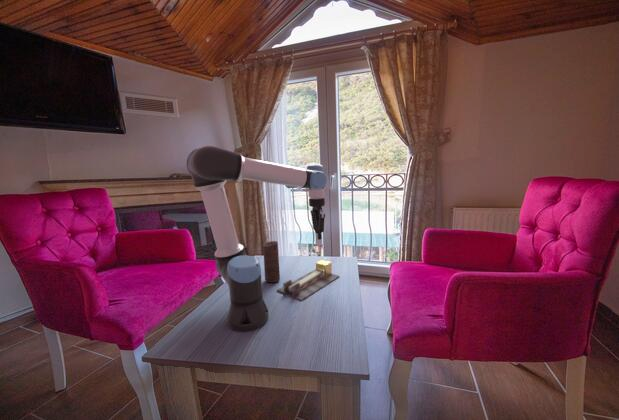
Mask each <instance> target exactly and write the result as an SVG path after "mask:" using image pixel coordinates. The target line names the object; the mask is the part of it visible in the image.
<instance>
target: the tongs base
mask: <svg viewBox="0 0 619 420" xmlns="http://www.w3.org/2000/svg"><path fill="white" fill-rule="evenodd" d="M315 271H316V268H315V269H314V270H312V271H310V272H307V274H304V275H302V276H301V277H299V278H296V279H295V280H291V279H289V280H287V281H285V282H283V286H282V287H280V288H278V289H276V291H277V292H278V293H281V294H284V295H286V296H288V297H291V298H294V299H296V300H298V301H301V302H302V301H304V300H306V299H307V298H309V297H311V296H312V295H313V294H315V293H317V292H319V290H322V289H323V288H324V287H326V286H327V285H329V284H330V283H333V282H334V281H335V280H337V279H338V277H339V278H340V275H338V274H335V273H332V274H331V275H329V276H327V277H324V272H322V273H321V274H320V275H319V276H317V277H316V278H314V279H312V280H311V281H309V282H308V283H306V284H305V285H303V286H301V287H300V283H297V282H298V281H300V280H302V279H303V278H305V277H307V276H308V275H310V274H312V273H313V272H315ZM295 283H297V284H295ZM293 284H295V285H293ZM292 285H293V286H292ZM288 286H292V291H289V290H288V289H287V288H288Z"/></svg>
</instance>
